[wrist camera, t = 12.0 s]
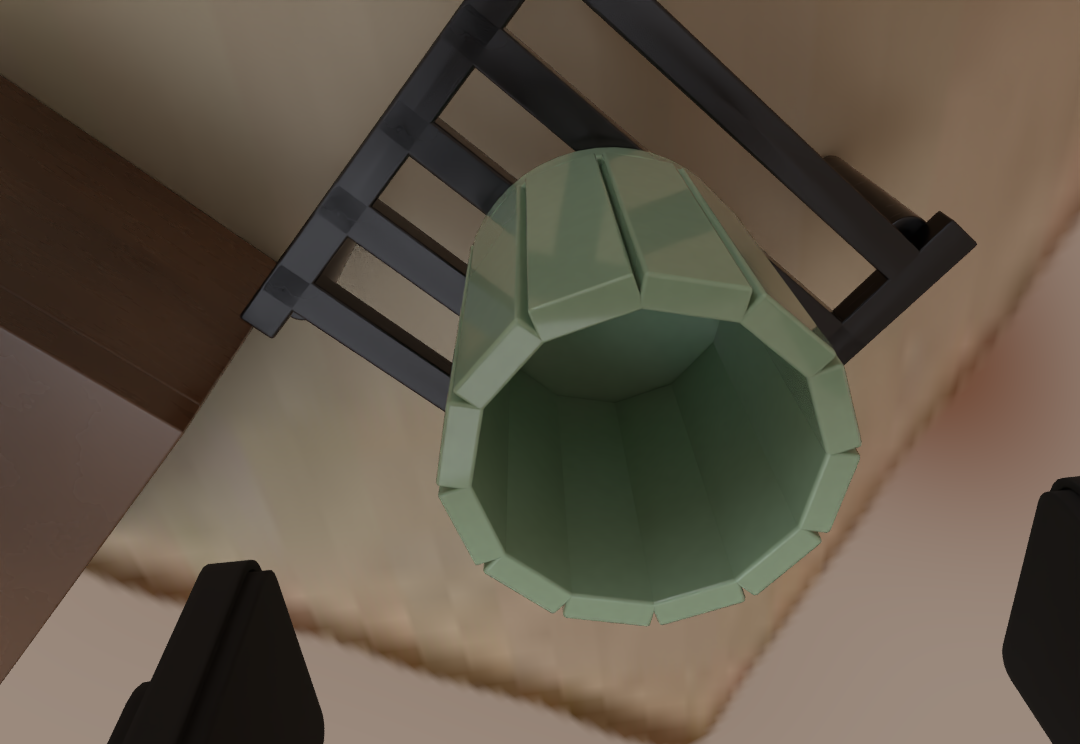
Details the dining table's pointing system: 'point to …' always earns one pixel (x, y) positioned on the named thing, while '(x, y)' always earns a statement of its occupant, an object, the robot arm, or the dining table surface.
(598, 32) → the dining table surface
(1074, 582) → the robot arm
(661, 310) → the cup
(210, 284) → the shelf
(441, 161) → the rack
